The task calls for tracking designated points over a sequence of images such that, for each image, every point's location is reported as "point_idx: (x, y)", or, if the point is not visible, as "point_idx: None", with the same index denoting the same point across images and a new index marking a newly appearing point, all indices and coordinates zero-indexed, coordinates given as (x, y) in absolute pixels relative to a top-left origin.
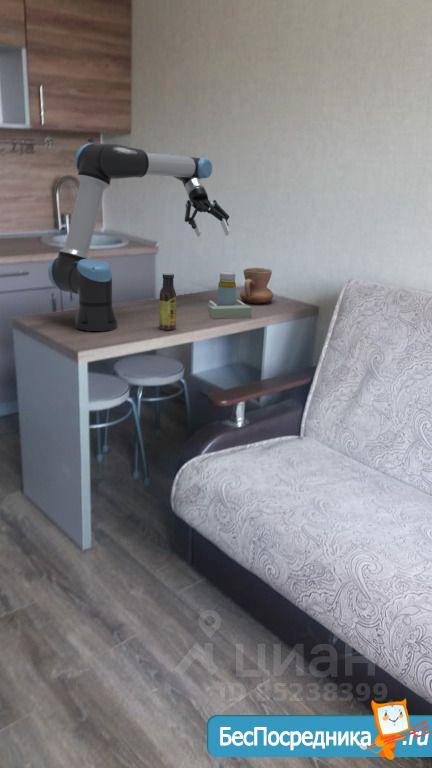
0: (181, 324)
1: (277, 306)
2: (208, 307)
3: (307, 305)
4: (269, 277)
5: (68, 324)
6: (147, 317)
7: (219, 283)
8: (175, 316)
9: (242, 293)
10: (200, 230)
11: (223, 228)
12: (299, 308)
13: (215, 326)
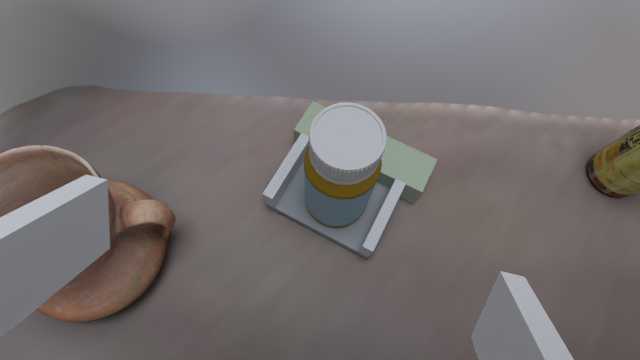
0: (549, 183)
1: (118, 159)
2: (368, 256)
3: (29, 111)
4: (40, 163)
5: None
6: (618, 318)
7: (378, 171)
8: (620, 137)
9: (147, 271)
10: (512, 290)
11: (30, 300)
12: (90, 103)
13: (469, 115)
